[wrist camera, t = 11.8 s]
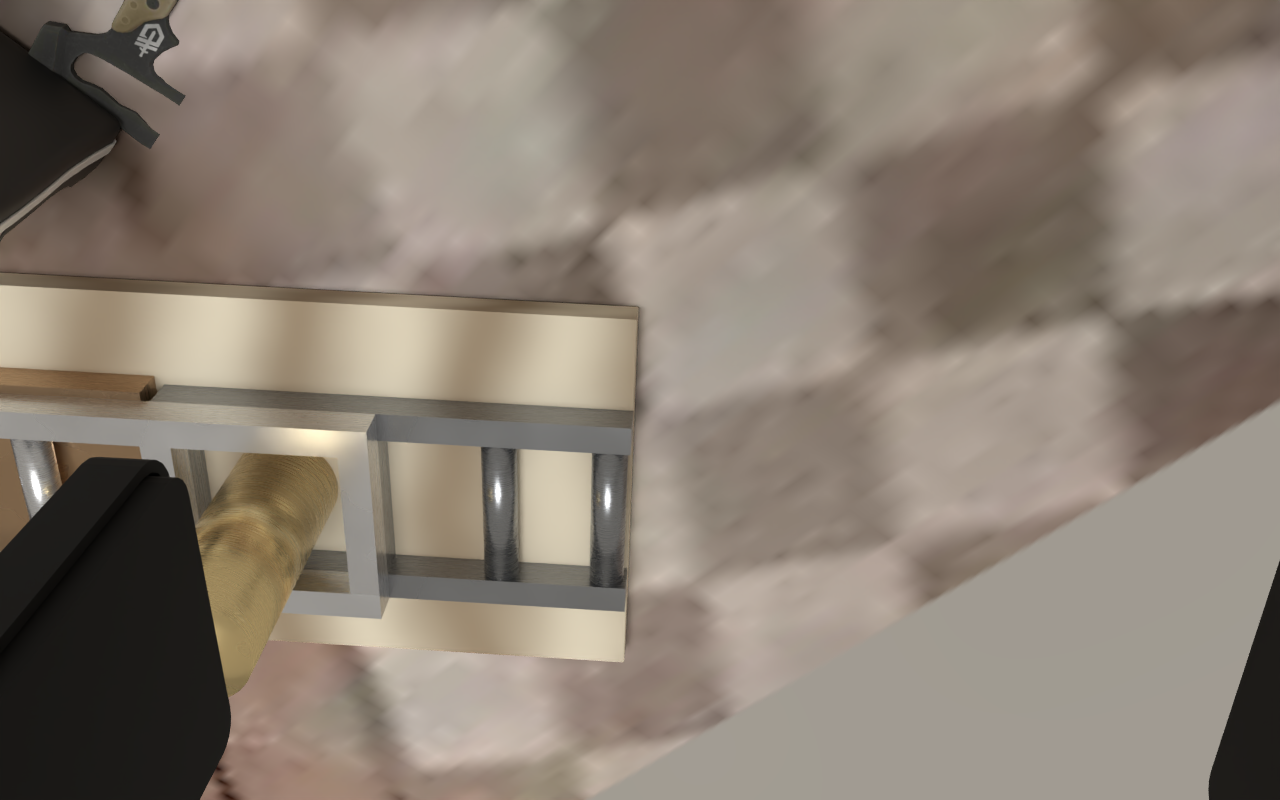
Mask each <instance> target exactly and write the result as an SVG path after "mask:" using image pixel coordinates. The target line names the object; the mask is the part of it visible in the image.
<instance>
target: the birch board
mask: <svg viewBox="0 0 1280 800" xmlns="http://www.w3.org/2000/svg"><path fill="white" fill-rule="evenodd" d="M638 310H639V307H628V306H610V305H591V304H573V303H554V302H536V301H517V300H499V299H480V298H462V297H443V296H425V295H406V294H388V293H369V292H351V291H332V290H314V289H295V288H277V287H258V286H240V285H221V284H203V283H184V282H166V281H147V280H129V279H110V278H92V277H73V276H55V275H36V274H18V273H0V367H6V368H24V369H42V370H60V371H78V372H95V373H113V374H131V375H149V376H154V378H155V383H156V389H157V392H158V391H159V390H160V389H161V388H162V387H163V385H164V384H168V385H186V386H203V387H221V388H239V389H257V390H274V391H292V392H310V393H327V394H345V395H363V396H380V397H398V398H416V399H434V400H451V401H469V402H487V403H504V404H522V405H540V406H557V407H575V408H593V409H611V410H628V411H633V436H632V445H631V454H630V455H628V471H627V498H626V525H625V553H624V568H627V592H626V602H625V612H618V611H602V610H585V609H569V608H552V607H536V606H520V605H503V604H487V603H471V602H454V601H438V600H422V599H405V598H389V601H388V603H387V606H386V608H385V611H384V614H383V616H382V619H373V618H356V617H340V616H324V615H308V614H292V613H281V615H280V617H279V619H278V621H277V623H276V625H275V627H274V629H273V631H272V633H271V635H270V637H269V639H268V640H274V641H290V642H306V643H322V644H338V645H354V646H371V647H387V648H403V649H419V650H435V651H451V652H467V653H483V654H499V655H515V656H531V657H547V658H563V659H579V660H595V661H611V662H624V655H625V645H626V619H627V593H628V568H629V542H630V516H631V490H632V464H633V439H634V413H635V387H636V361H637V336H638ZM387 442H388V455H389V469H390V483H391V497H392V510H393V524H394V538H395V552H396V554H397V555H414V556H431V557H447V558H464V559H480V560H484V536H483V504H482V471H481V447H476V446H458V445H441V444H424V443H406V442H389V441H387ZM204 453H205V459H206V466H207V472H208V478H209V485H210V491H211V498H212V499H213V498H214V496H215V495H216V493H217V492H218V490H219V489H220V487H221V486H222V484H223V483H224V481H225V480H226V478H227V477H228V475H229V474H230V472H231V471H232V469H233V468H234V466H235V465H236V463H237V462H238V460H239V459H240V457H241V456H242V454H243V452H226V451H209V450H204ZM323 458H324V459H325V460H326V461H327V462H328V463H329V465H330V466H331V468H332V469H333V471H334V473H335V476H336V479H337V483H338V498H337V501H336V504H335V506H334V508H333V510H332V512H331V514H330V516H329V518H328V520H327V522H326V524H325V526H324V528H323V530H322V532H321V534H320V536H319V538H318V540H317V542H316V544H315V546H314V548H313V549H314V550H331V551H346V543H345V532H344V522H343V512H342V501H341V491H340V480H339V470H338V460H337V458H329V457H323ZM517 474H518V545H519V562H530V563H547V564H564V565H580V566H590V525H591V475H592V453H580V452H563V451H545V450H528V449H517Z"/></svg>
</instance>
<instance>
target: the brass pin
mask: <svg viewBox="0 0 1280 800" xmlns="http://www.w3.org/2000/svg"><path fill="white" fill-rule="evenodd" d="M337 498H338V483H337V479H336V476H335V473H334V471H333V469H332V468H331V466H330V465H329V463H328V462H327V461H326V460H325V459H324V458H323V457H312V456H295V455H278V454H260V453H243V454H242V456H241V457H240V459H239V460H238V462H237V463H236V465H235V466H234V468H233V469H232V471H231V472H230V474H229V475H228V477H227V478H226V480H225V481H224V483H223V484H222V486H221V487H220V489H219V490H218V492H217V493H216V495H215V496H214V498H213V499H212V501H211V502H210V504H209V505H208V507H207V508H206V510H205V511H204V513H203V514H202V516H201V517H200V519H199V520H198V522H197V523H196V525H195V528H196V533H197V538H198V543H199V548H200V554H201V559H202V564H203V569H204V574H205V580H206V585H207V590H208V595H209V600H210V606H211V611H212V616H213V621H214V626H215V632H216V637H217V642H218V647H219V652H220V658H221V663H222V668H223V673H224V678H225V684H226V689H227V694H228V697H230V696H232V695H234V694H235V693H237V692H238V691H240V690H241V689H242V688H243V687H244V685H245V684H246V683H247V681H248V679H249V677H250V675H251V673H252V671H253V669H254V667H255V665H256V663H257V661H258V659H259V657H260V655H261V653H262V651H263V649H264V647H265V645H266V643H267V641H268V639H269V637H270V635H271V633H272V631H273V629H274V627H275V625H276V623H277V621H278V619H279V617H280V615H281V613H282V611H283V609H284V607H285V605H286V603H287V601H288V599H289V597H290V595H291V593H292V591H293V589H294V587H295V584H296V582H297V580H298V578H299V576H300V574H301V572H302V570H303V568H304V566H305V564H306V562H307V560H308V558H309V556H310V554H311V552H312V550H313V548H314V546H315V544H316V542H317V540H318V538H319V536H320V534H321V532H322V530H323V528H324V526H325V524H326V522H327V520H328V518H329V516H330V514H331V512H332V510H333V508H334V506H335V504H336V501H337Z"/></svg>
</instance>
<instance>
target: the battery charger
mask: <svg viewBox="0 0 1280 800" xmlns="http://www.w3.org/2000/svg"><path fill="white" fill-rule="evenodd" d="M28 53H29V52H28V51H26V50H25V49H24V48H22V47H21V46H20V45H18V44H17V43H16V42H14V41H13V40H11V39H10V38H9V37H7V36H6V35H5V34H3V33H2V32H1V31H0V241H1V240H2V238H3V237H4V235H6V234H7V233H8V232H9V231H10V230H12V229H13V228H14V227H15V226H17V225H18V224H19V223H20V222H22V221H23V220H24V219H25V218H26V217H28V216H29V215H30V214H31V213H32V212H34V211H35V210H36V209H37V208H38V207H39V206H41V205H42V204H43V203H44V202H45V201H46V200H47V199H48V198H50V197H51V196H53V195H54V194H55V193H57V192H58V191H60V190H62V189H63V188H65V187H68V186H69V187H72V186H73V185H74V184H76V183H77V182H78V181H79V180H81V179H83V178H85V177H86V176H87V175H88V174H89V173H90V172H91V171H92V170H93V169H95V168H96V167H97V166H98V164H99V163H100V161H101V159H102V158H103V156H105V155H107V154H109V153H110V151H111V150H112V148H113V147H114V145H115V144H116V139H115V138H116V136H117V135H118V133H119V131H120V124H119V122H118V120H117V119H116V118H114V117H113V116H112V115H111V114H110V113H108V112H107V111H106V110H104V109H103V108H102V107H101V106H99V105H98V104H97V103H95V102H94V101H93V100H91V99H90V98H89V97H87V96H86V95H85V94H84V93H82V92H81V91H80V90H78V89H77V88H76V87H74V86H73V85H72V84H70V83H69V82H68V81H66V80H65V79H64V78H62V77H61V76H60V75H58V74H57V73H55V72H53V71H51V70H50V69H49V68H47V67H46V66H44V65H43V64H42V63H40V62H39V61H37V60H36V59H35V58H33V57H32V56H30V55H29V54H28Z"/></svg>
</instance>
